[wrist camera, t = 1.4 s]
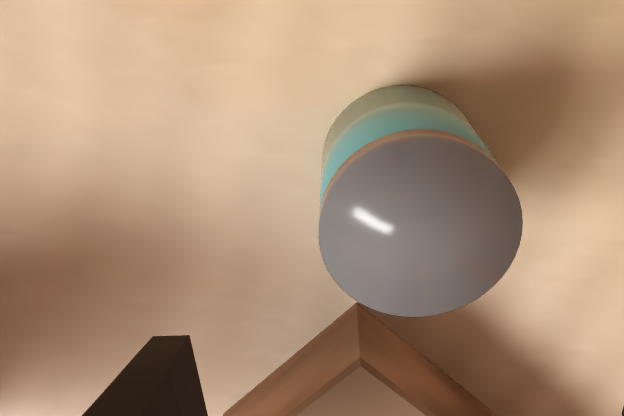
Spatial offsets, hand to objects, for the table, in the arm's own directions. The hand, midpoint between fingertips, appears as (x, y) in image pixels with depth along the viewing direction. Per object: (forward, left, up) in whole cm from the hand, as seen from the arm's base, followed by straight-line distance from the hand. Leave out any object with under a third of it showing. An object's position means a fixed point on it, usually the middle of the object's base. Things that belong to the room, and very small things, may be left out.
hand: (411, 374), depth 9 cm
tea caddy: (-1, 0, -10) cm, 10 cm away
